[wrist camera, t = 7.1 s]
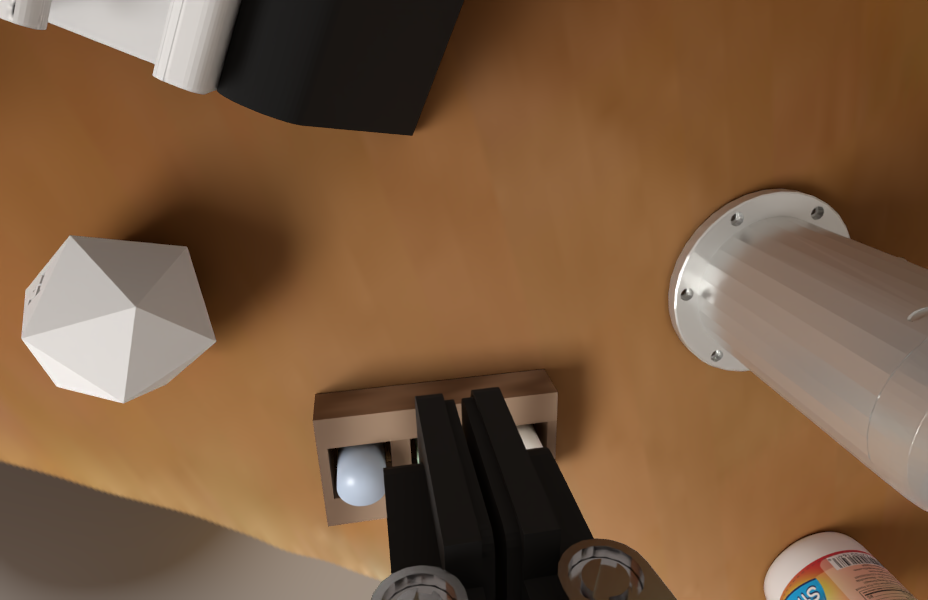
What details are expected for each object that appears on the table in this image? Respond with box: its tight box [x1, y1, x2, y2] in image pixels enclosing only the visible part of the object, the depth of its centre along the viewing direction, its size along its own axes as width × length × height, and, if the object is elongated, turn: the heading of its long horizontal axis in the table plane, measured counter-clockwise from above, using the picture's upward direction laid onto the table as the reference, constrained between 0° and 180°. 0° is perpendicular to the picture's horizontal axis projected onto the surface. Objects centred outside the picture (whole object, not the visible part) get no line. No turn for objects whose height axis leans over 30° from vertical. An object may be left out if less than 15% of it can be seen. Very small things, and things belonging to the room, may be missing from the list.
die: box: [21, 235, 216, 403], centre depth 32 cm, size 8×9×10 cm
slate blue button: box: [337, 442, 386, 506], centre depth 39 cm, size 3×3×4 cm
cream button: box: [516, 424, 543, 449], centre depth 40 cm, size 3×3×4 cm
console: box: [313, 369, 558, 526], centre depth 41 cm, size 15×8×3 cm, turn 92°
